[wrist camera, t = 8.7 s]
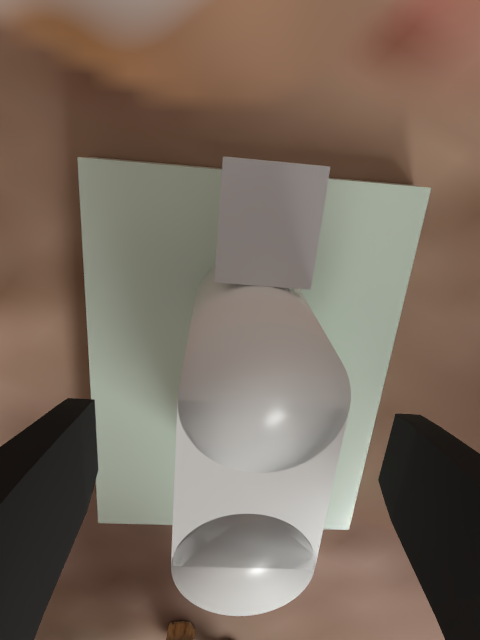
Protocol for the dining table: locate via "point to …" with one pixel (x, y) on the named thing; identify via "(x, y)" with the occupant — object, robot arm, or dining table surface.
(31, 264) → the dining table surface
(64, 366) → the dining table surface
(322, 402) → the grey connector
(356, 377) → the pale green rectangular panel
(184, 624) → the lion figurine
